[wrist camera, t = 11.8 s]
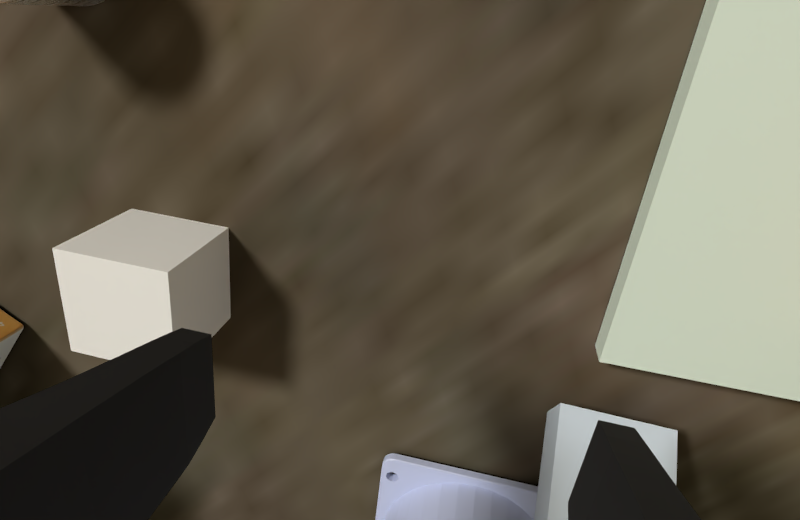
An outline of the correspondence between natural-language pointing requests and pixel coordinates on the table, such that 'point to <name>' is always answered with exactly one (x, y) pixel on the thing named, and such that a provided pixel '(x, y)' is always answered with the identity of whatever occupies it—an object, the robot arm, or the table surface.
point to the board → (721, 215)
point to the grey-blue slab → (569, 446)
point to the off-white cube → (142, 281)
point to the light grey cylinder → (53, 2)
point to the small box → (8, 334)
